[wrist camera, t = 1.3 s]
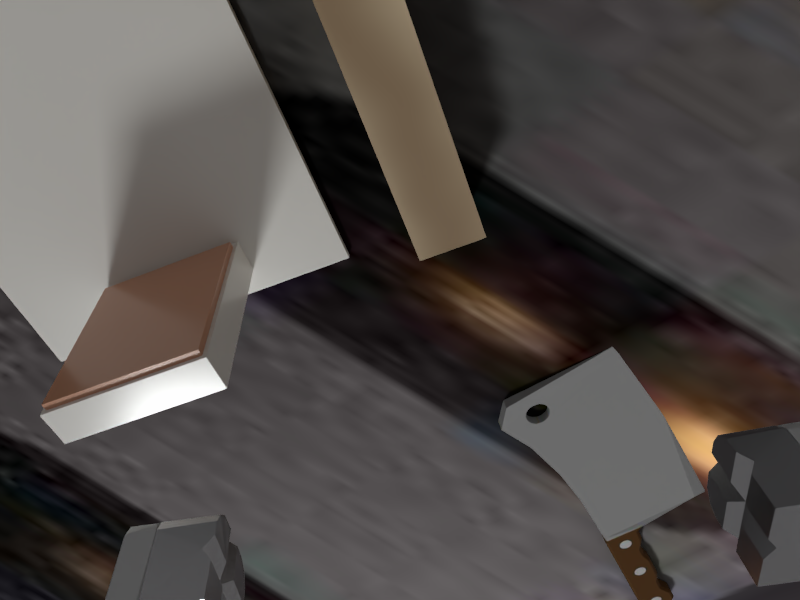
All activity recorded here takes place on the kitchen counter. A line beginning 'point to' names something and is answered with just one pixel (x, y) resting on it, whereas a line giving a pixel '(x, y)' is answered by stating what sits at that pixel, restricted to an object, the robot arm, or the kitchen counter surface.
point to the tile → (153, 344)
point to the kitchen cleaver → (608, 455)
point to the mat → (141, 155)
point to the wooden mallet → (403, 120)
